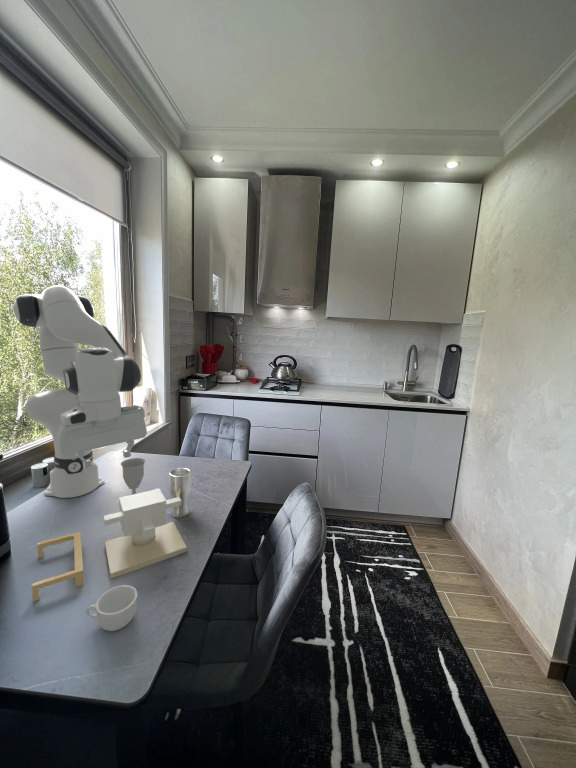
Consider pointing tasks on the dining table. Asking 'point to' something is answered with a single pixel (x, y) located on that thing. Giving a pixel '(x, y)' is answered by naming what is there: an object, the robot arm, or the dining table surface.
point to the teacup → (115, 607)
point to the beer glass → (180, 490)
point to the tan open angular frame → (56, 579)
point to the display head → (142, 533)
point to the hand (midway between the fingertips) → (108, 461)
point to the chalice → (133, 472)
